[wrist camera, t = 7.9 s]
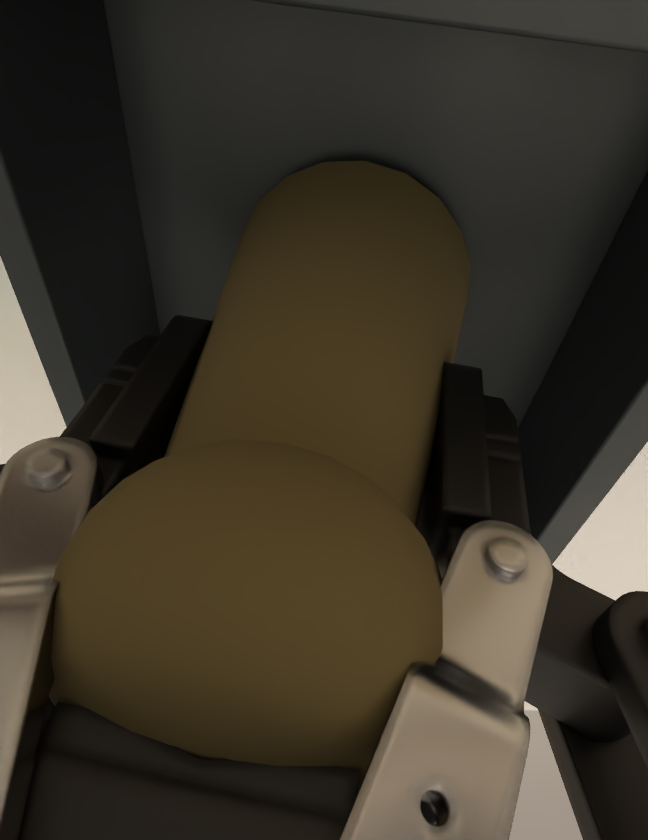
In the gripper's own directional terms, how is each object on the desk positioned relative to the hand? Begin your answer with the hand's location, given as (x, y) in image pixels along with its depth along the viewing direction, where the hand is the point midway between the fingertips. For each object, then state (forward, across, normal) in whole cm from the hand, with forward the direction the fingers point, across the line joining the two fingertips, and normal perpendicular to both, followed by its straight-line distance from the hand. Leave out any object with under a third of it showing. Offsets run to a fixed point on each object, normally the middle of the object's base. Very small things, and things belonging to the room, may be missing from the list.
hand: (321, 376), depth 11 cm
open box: (+5, 0, 0) cm, 5 cm away
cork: (+4, 0, 0) cm, 4 cm away
